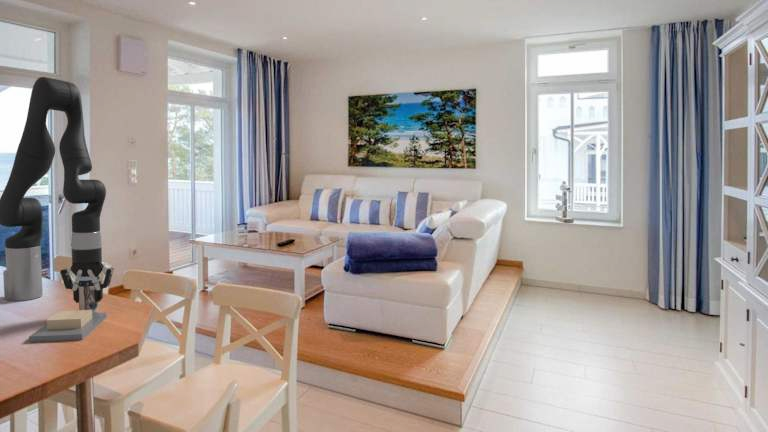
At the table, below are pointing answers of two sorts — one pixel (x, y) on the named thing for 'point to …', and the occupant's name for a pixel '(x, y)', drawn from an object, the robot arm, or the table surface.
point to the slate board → (67, 332)
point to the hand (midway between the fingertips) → (88, 301)
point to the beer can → (87, 295)
